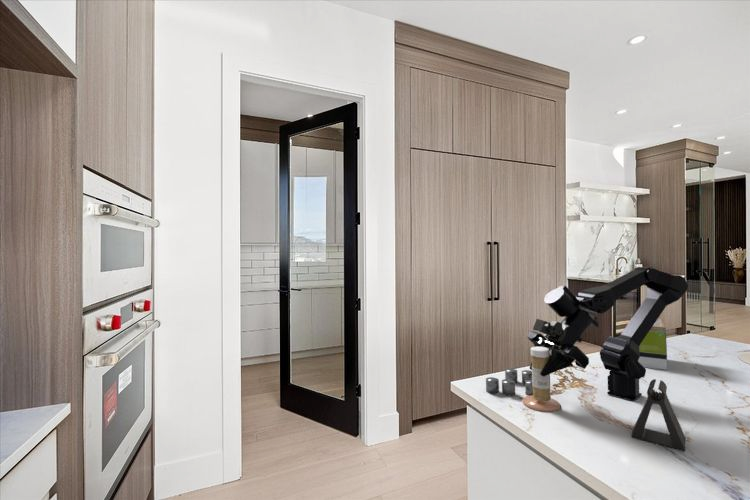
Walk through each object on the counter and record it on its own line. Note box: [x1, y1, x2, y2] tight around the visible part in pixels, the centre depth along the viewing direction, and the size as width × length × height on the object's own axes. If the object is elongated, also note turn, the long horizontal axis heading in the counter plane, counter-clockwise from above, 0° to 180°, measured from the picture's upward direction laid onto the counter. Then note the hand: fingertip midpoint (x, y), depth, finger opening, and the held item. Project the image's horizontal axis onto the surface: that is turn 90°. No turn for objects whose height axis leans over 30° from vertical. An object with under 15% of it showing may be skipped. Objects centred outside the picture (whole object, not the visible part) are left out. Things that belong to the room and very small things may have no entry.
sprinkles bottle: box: [530, 346, 552, 401], centre depth 97 cm, size 5×5×14 cm
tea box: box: [630, 316, 668, 371], centre depth 130 cm, size 15×10×15 cm, turn 144°
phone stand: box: [630, 379, 687, 452], centre depth 79 cm, size 9×6×12 cm, turn 48°
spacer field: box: [485, 368, 533, 397], centre depth 108 cm, size 13×17×4 cm
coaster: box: [522, 395, 561, 413], centre depth 97 cm, size 9×9×1 cm
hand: (536, 372), depth 97 cm, fingers closed on sprinkles bottle, 4 cm apart
